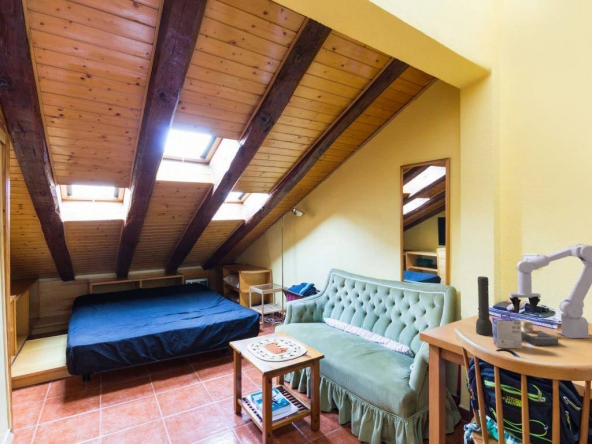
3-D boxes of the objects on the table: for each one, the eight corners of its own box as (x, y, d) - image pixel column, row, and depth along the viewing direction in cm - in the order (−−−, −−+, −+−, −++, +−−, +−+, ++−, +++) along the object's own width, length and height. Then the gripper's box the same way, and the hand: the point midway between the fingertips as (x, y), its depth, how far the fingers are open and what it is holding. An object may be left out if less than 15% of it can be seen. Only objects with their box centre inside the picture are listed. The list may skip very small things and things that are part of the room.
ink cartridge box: (516, 344, 142) (515, 312, 142) (522, 349, 137) (521, 315, 137) (492, 343, 144) (491, 311, 144) (497, 347, 139) (496, 314, 139)
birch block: (526, 329, 161) (526, 319, 161) (532, 332, 157) (532, 322, 157) (517, 329, 161) (517, 319, 161) (523, 332, 157) (523, 322, 157)
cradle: (540, 337, 150) (540, 330, 150) (558, 345, 140) (558, 338, 140) (518, 337, 150) (518, 330, 150) (534, 345, 140) (534, 338, 140)
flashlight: (481, 330, 161) (473, 332, 158) (480, 275, 161) (471, 276, 158) (495, 334, 155) (487, 337, 152) (494, 277, 155) (485, 278, 152)
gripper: (533, 283, 163) (533, 309, 163) (504, 283, 163) (504, 309, 163) (543, 286, 156) (543, 313, 156) (514, 286, 156) (514, 313, 156)
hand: (524, 311), depth 159 cm, fingers open, 7 cm apart
